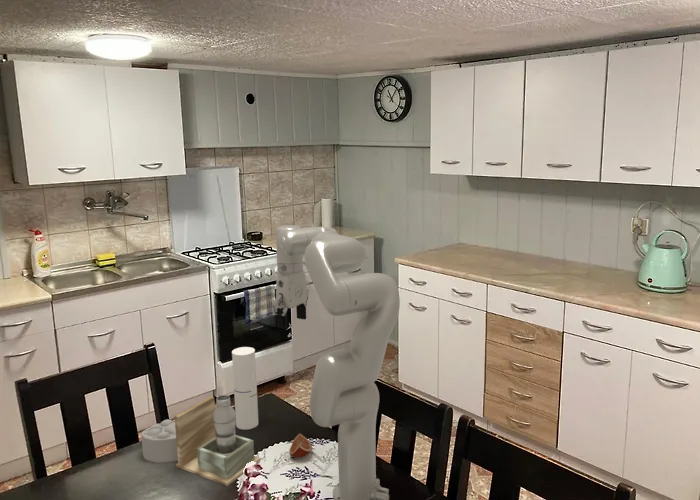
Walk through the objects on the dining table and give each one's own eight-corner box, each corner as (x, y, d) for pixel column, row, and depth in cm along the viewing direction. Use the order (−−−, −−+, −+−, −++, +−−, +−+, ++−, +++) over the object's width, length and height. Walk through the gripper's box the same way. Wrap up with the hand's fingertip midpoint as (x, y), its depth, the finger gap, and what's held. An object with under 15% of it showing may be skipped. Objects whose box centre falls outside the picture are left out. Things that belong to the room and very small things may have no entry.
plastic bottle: (234, 471, 158) (230, 404, 154) (211, 469, 159) (206, 402, 155) (243, 459, 164) (239, 393, 160) (220, 456, 165) (216, 391, 162)
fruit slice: (290, 448, 171) (289, 432, 170) (312, 447, 171) (312, 431, 170) (288, 463, 163) (288, 447, 162) (312, 462, 163) (311, 446, 162)
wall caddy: (260, 460, 164) (258, 409, 161) (227, 486, 153) (223, 431, 150) (211, 444, 174) (207, 395, 171) (176, 466, 162) (172, 415, 159)
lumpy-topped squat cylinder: (187, 460, 166) (185, 432, 164) (140, 465, 163) (137, 437, 162) (190, 441, 176) (188, 415, 174) (146, 446, 173) (144, 419, 172)
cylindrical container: (233, 421, 188) (229, 349, 183) (255, 416, 191) (251, 345, 186) (239, 431, 181) (234, 356, 176) (261, 426, 184) (257, 352, 179)
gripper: (282, 275, 159) (285, 333, 163) (316, 263, 174) (318, 317, 177) (261, 272, 163) (264, 329, 166) (296, 260, 178) (298, 313, 181)
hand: (292, 323), depth 172 cm, fingers open, 9 cm apart
